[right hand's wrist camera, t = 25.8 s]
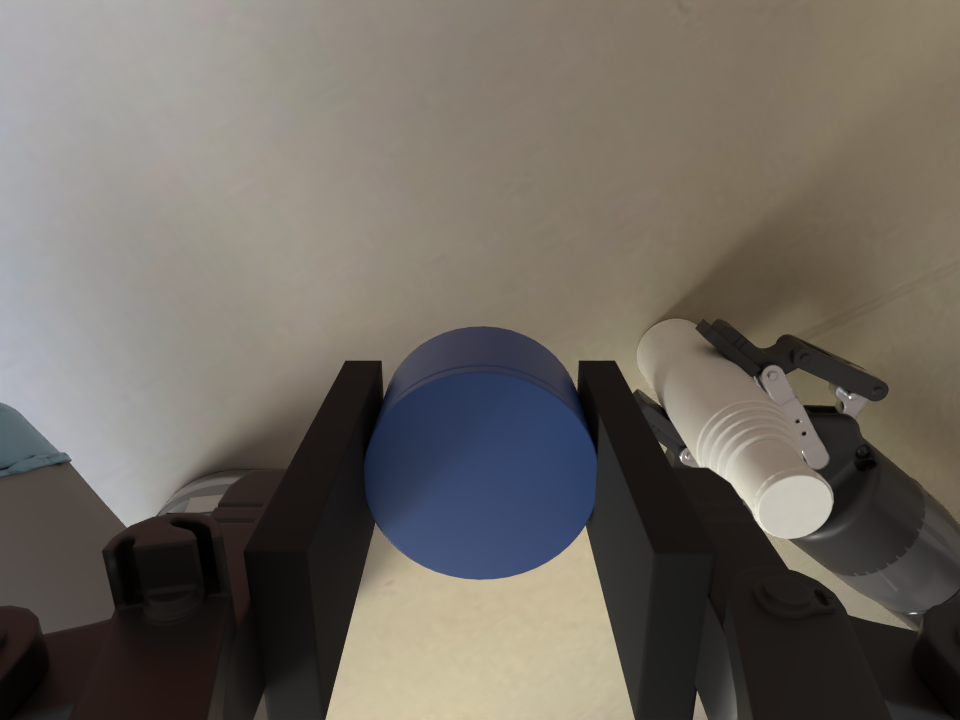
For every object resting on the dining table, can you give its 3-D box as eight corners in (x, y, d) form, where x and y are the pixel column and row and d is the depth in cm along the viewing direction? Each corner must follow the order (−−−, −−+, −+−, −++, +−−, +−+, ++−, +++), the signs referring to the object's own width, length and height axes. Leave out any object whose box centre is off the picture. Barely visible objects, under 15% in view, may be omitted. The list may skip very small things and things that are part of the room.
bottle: (678, 398, 46) (799, 575, 28) (621, 363, 45) (711, 523, 28) (723, 342, 44) (881, 491, 27) (666, 304, 44) (790, 434, 26)
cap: (523, 289, 13) (532, 328, 11) (613, 454, 15) (638, 522, 12) (344, 383, 14) (315, 440, 12) (444, 533, 15) (437, 612, 13)
